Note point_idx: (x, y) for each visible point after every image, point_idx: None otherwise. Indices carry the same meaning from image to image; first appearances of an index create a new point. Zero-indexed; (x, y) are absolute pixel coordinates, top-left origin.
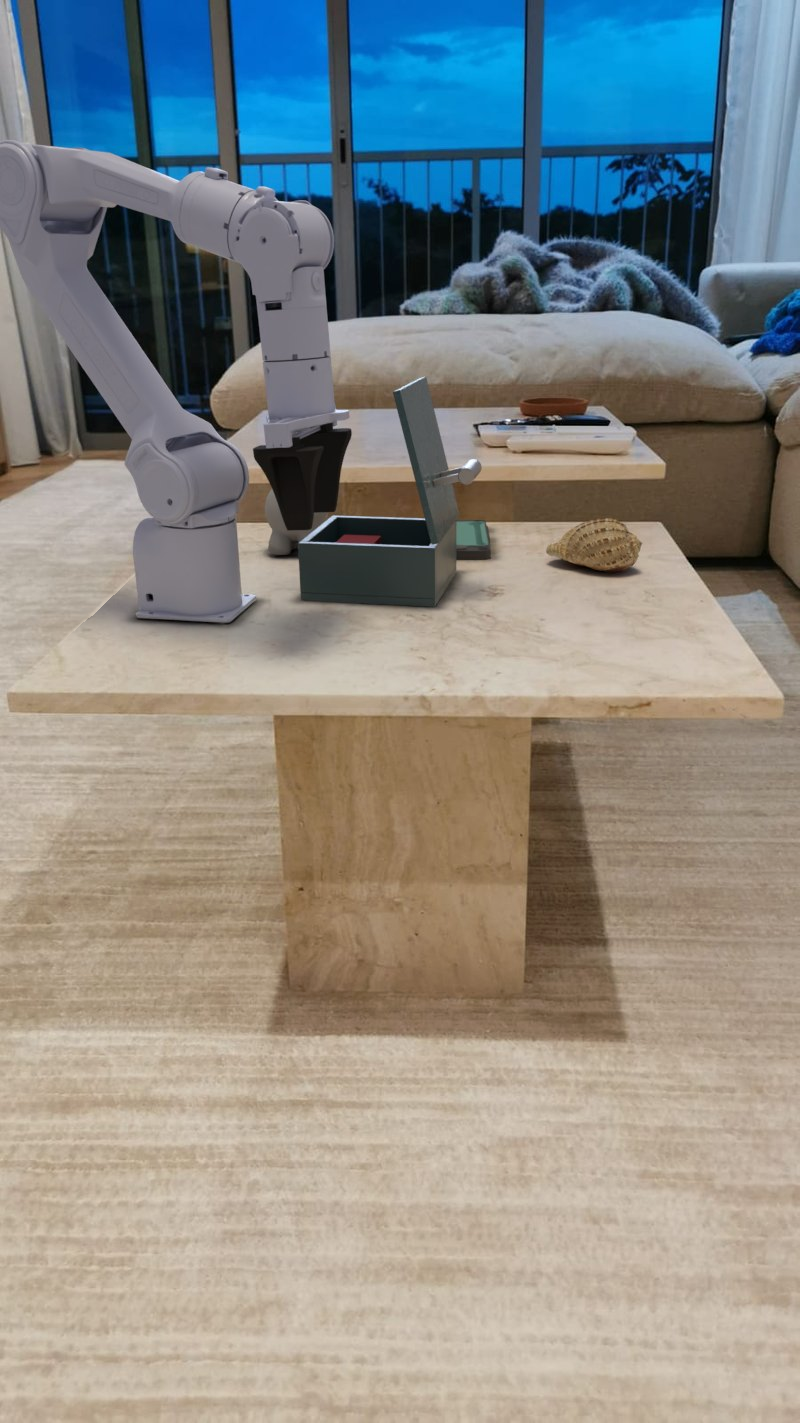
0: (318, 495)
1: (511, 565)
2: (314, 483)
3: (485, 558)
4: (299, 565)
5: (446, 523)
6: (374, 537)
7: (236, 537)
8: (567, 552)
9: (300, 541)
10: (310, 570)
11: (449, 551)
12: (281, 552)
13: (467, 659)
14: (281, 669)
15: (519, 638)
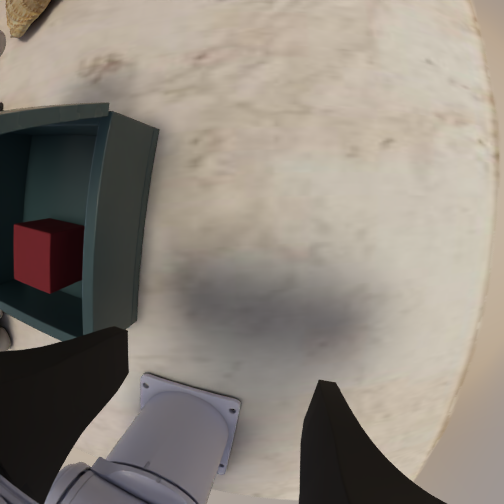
0: (108, 379)
1: (22, 73)
2: (344, 449)
3: (2, 106)
4: None
5: (31, 107)
6: (20, 233)
7: (147, 448)
8: (35, 10)
9: None
10: (115, 322)
11: None
12: (7, 338)
13: (388, 86)
14: (413, 323)
15: (300, 21)
